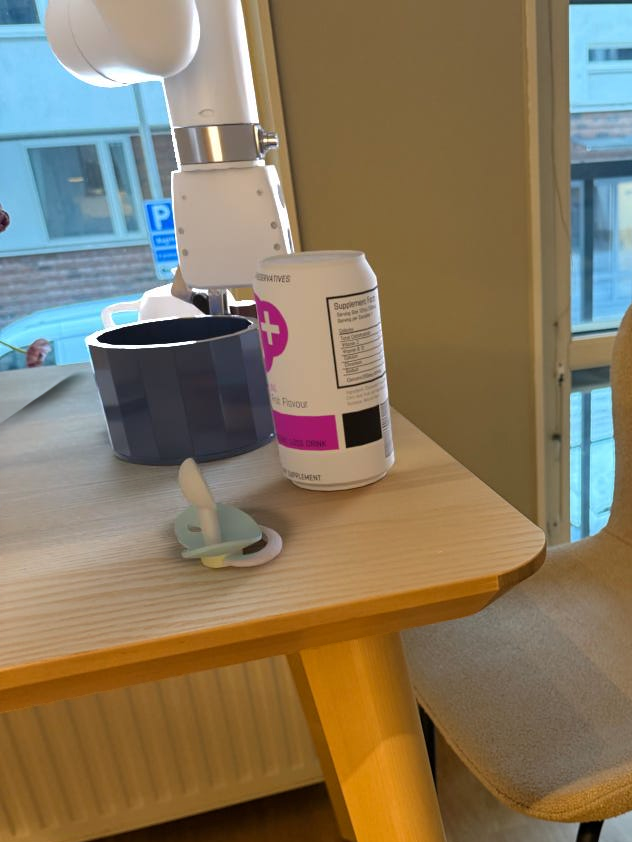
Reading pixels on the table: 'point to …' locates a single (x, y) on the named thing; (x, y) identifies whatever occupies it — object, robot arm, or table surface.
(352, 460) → the supplement can
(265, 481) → the table surface
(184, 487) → the pacifier
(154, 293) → the teapot
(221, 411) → the canister
